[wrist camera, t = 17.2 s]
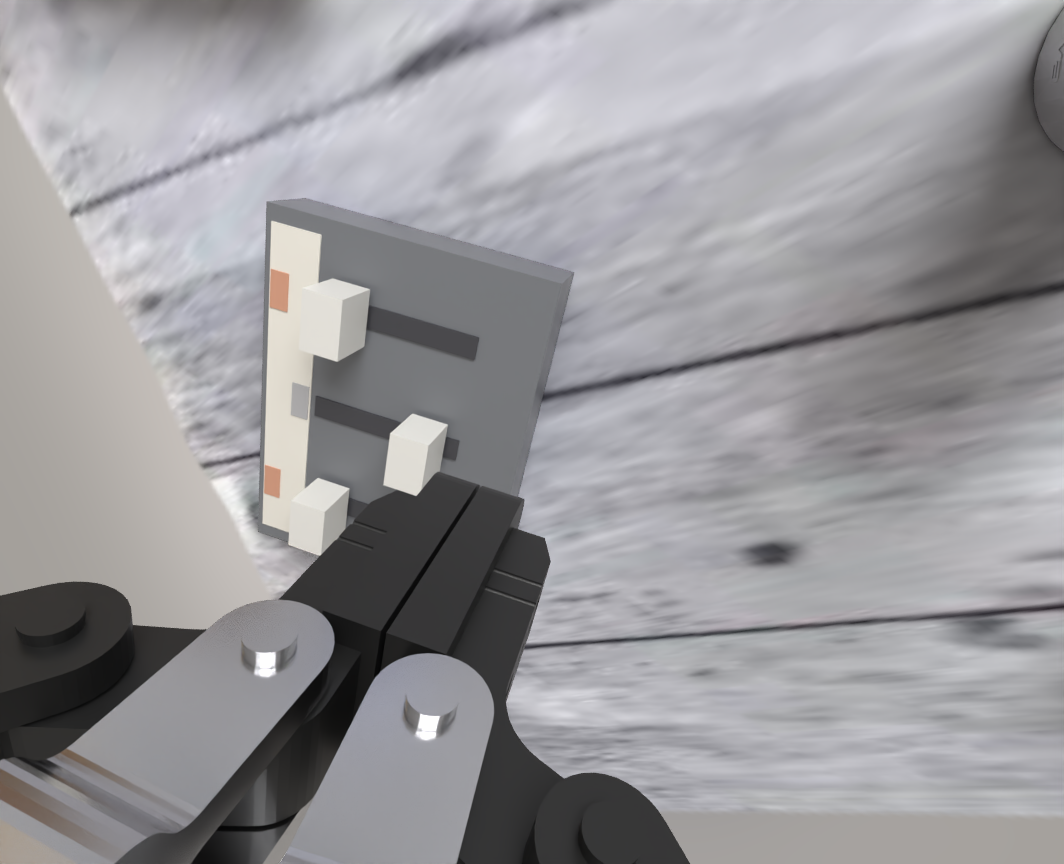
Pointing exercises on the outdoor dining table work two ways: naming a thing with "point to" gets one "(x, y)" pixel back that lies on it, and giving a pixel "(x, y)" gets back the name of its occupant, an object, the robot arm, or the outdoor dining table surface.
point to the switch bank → (399, 355)
